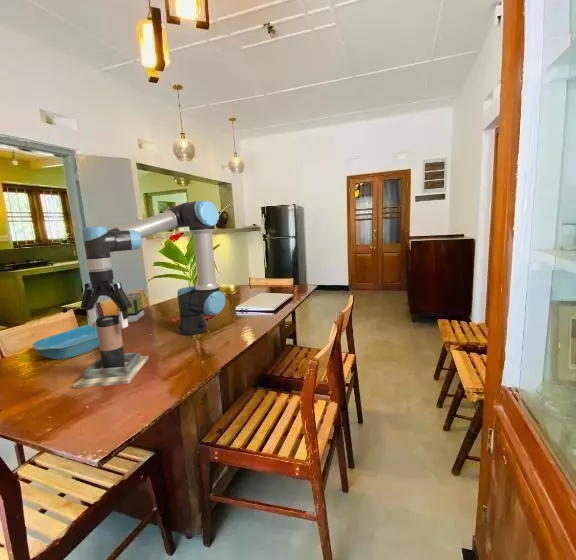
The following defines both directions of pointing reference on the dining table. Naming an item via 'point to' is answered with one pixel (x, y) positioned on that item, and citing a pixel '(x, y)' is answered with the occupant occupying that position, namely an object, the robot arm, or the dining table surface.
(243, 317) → the dining table surface
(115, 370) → the docking board
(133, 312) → the tea box
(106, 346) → the travel mug
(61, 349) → the casserole dish
